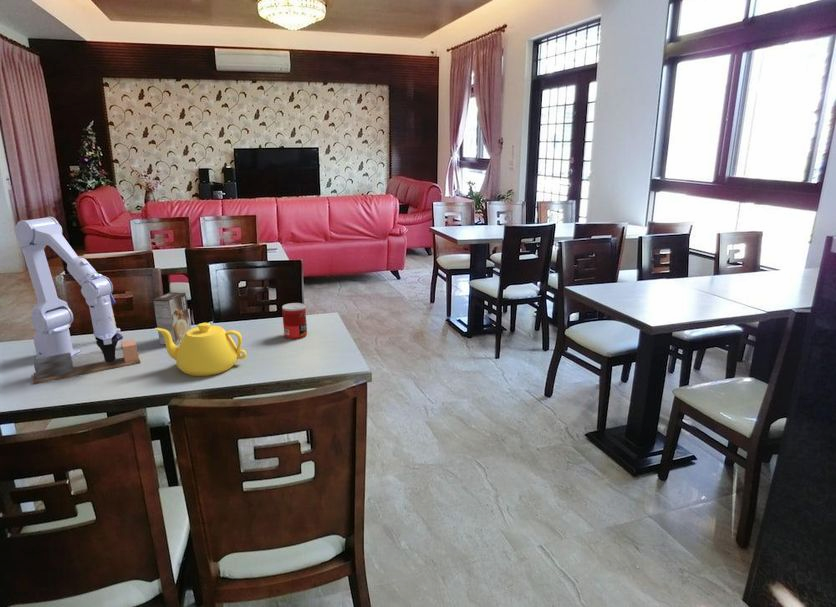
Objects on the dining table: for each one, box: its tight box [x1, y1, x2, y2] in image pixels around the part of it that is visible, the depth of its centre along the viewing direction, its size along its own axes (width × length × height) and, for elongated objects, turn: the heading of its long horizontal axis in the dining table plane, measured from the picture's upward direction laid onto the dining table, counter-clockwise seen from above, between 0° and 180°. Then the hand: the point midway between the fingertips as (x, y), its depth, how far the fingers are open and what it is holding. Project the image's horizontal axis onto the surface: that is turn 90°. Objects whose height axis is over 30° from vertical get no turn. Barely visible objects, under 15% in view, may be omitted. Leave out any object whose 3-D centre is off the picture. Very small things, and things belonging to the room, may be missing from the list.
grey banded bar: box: [71, 346, 124, 367], centre depth 165 cm, size 19×3×3 cm, turn 123°
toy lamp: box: [109, 293, 124, 341], centre depth 186 cm, size 5×5×17 cm
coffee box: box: [152, 291, 192, 346], centre depth 184 cm, size 9×6×16 cm
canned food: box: [281, 302, 308, 340], centre depth 189 cm, size 8×8×11 cm
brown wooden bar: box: [32, 353, 141, 385], centre depth 163 cm, size 28×8×5 cm, turn 123°
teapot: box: [154, 322, 248, 377], centre depth 163 cm, size 25×18×14 cm
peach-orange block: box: [120, 339, 140, 363], centre depth 169 cm, size 4×5×5 cm
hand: (110, 359), depth 167 cm, fingers closed on grey banded bar, 3 cm apart
